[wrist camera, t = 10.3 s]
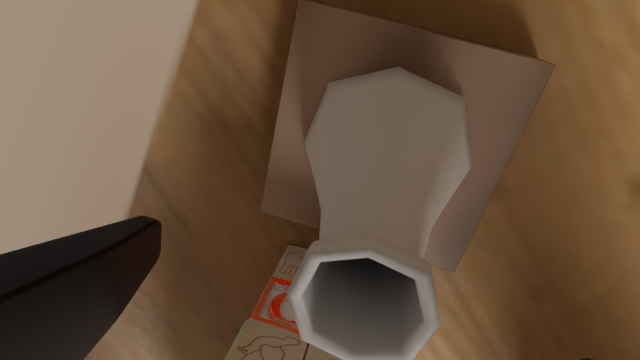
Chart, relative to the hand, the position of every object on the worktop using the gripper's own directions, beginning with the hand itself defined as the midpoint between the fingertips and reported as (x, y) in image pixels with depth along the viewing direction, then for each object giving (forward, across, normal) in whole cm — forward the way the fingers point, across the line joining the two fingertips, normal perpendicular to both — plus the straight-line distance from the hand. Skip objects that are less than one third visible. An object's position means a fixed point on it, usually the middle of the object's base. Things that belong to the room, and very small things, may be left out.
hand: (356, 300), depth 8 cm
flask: (+10, 0, 0) cm, 10 cm away
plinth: (+12, 0, 0) cm, 12 cm away
